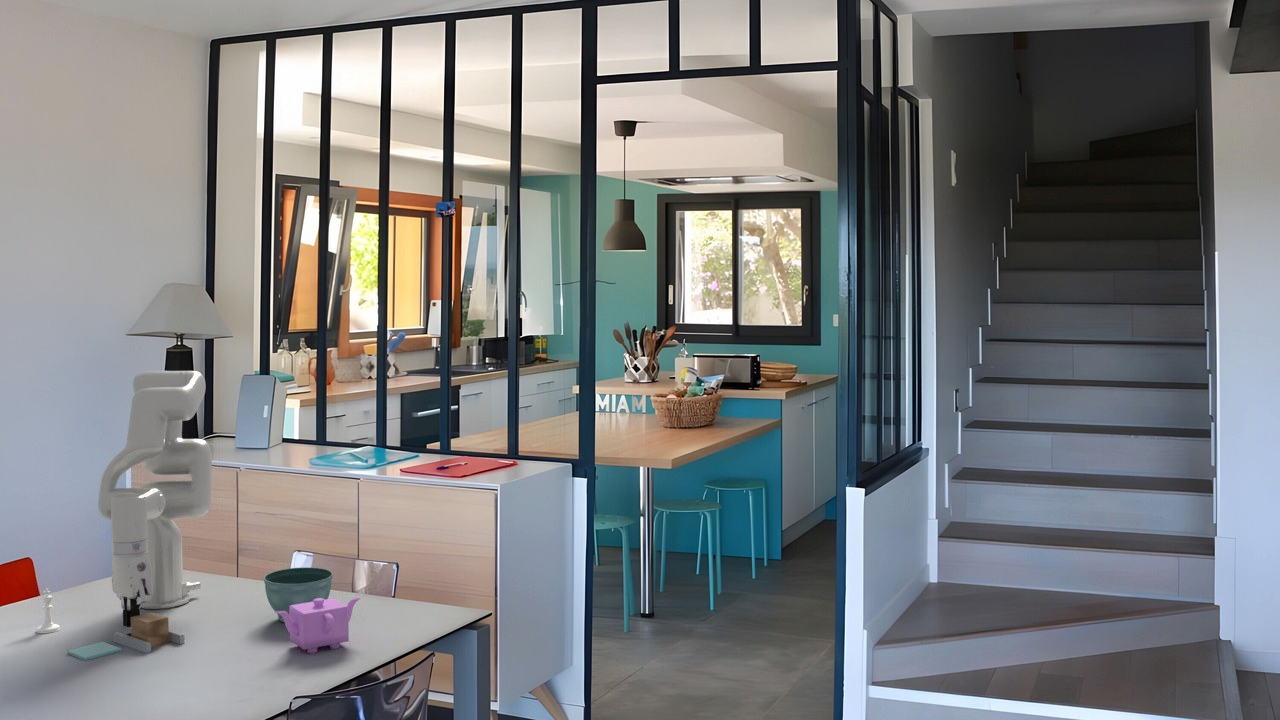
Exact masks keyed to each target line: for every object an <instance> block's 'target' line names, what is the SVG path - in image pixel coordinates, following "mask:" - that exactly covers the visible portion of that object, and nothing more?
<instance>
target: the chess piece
mask: <svg viewBox="0 0 1280 720" xmlns="http://www.w3.org/2000/svg"><path fill="white" fill-rule="evenodd" d="M51 593H52V591H50V590H49V588H45V590H43V594H45V595H44V596H42V600H43V603H44V605H43V606H42V609H43V610H44V609H45V610H44V621H43V623H42V624H41V625H39V626H38V627H37V628H36V633H37V634H50V633H51V634H52V633H55V632H58V631H59V630H60V629H61V627H60V625H59V624H58V623H57V624H56V623H54V621H52V619H53V618H52V614H51V608H53V605H52V604H51V602H52V598H53V596H52V595H50V594H51Z"/></svg>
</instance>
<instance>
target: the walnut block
mask: <svg viewBox="0 0 1280 720" xmlns="http://www.w3.org/2000/svg"><path fill="white" fill-rule="evenodd" d="M169 630H170V629H169V617H168V616H165V615H161V614H158V613H155V612H151V611H150V612H147V613H142V614H140V615H138V616H134V617H131V627H130V633H131V637H134V638H137V639H140V640H143V641H146V642H149V643H151V649H152V648H156V647H159V646H162V645H166V644H169Z"/></svg>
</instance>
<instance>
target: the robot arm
mask: <svg viewBox="0 0 1280 720" xmlns="http://www.w3.org/2000/svg"><path fill="white" fill-rule="evenodd" d="M132 388H133V393H134V394H133V396H132V399H131V405H130V414H129V422H128V428H127V435H126V437H127V438H126V444H125V447H124V448H123V449H122V450H121V451H119V453H117V454H116V455H115V456H114V457H113V458H112V460H110V462H109V463H108V464H107V466H106V467H105V468H104V471H103V473H102V476H101V480H100V486H99V492H98V501H97V502H98V503H97V508H98V513H99V515H100V517H101V518H102V519H104V520H107V521H111V522H110V523H111V524H110V525H111V526H110V527H111V528H110V529H111V556H112V563H111V589H112V592H113V593H114V594H116V598H118V599H119V600H120V604H121V609H122V626H123V627H125V628H131V617H134V616H138V615H141V609H145V610H160V609H169V608H175V607H179V606H182V605H185V604H187V603H188V602H189V601H190V598H191V596H190V594H188V593H189V592H191V591H196V590H200V589H201V587H202V586H201V582H200V581H194V582H189V581H188V582H185V581H184V577H183V573H184V572H183V570H184V569H183V535H182V531H181V530H180V527H178V525H177V524H176V522H175V521H174V520H173V519H179V518H180V519H184V518H186V519H187V518H188V519H189V518H201V517H204V516H206V515H207V514H208V512H209V510H210V508H211V497H212V496H211V495H212V468H213V467H212V465H213V459H212V458H213V457H212V456H213V455H212V450H211V447H210V445H209V443H208V442H207V441H206V440H204V439H201V438H183V433H182V432H183V422H184V421H190V420H191V419H193V418H194V416H195V414H197V411H198V409H199V407H200V406H201V403H202V401H203V399H204V397H205V394H206V379H205V377H204V376H203V374H202V373H201V372H199V371H196V370H152V371H151V370H150V371H144V372H141V373H138V374H136V375H135V376H134V377H133V381H132ZM143 462H145V470H146V471H147V473H149V474H150V475H153V476H155V477H156V476H158V477H178V476H179V477H180V476H181V477H183V476H184V477H185V476H188V477H191V480H160V481H150V482H147V483H145V484H143V485H142V486H140V487H125V488H124V487H123V488H118V487H117V484H118V481H119V480H120V478H121V476H122V475H123V474H124V473H125V472H127V471H128V470H130V469H131V468H133V467H135V466H137V465H139V464H141V463H143ZM116 487H117V488H116Z"/></svg>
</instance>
